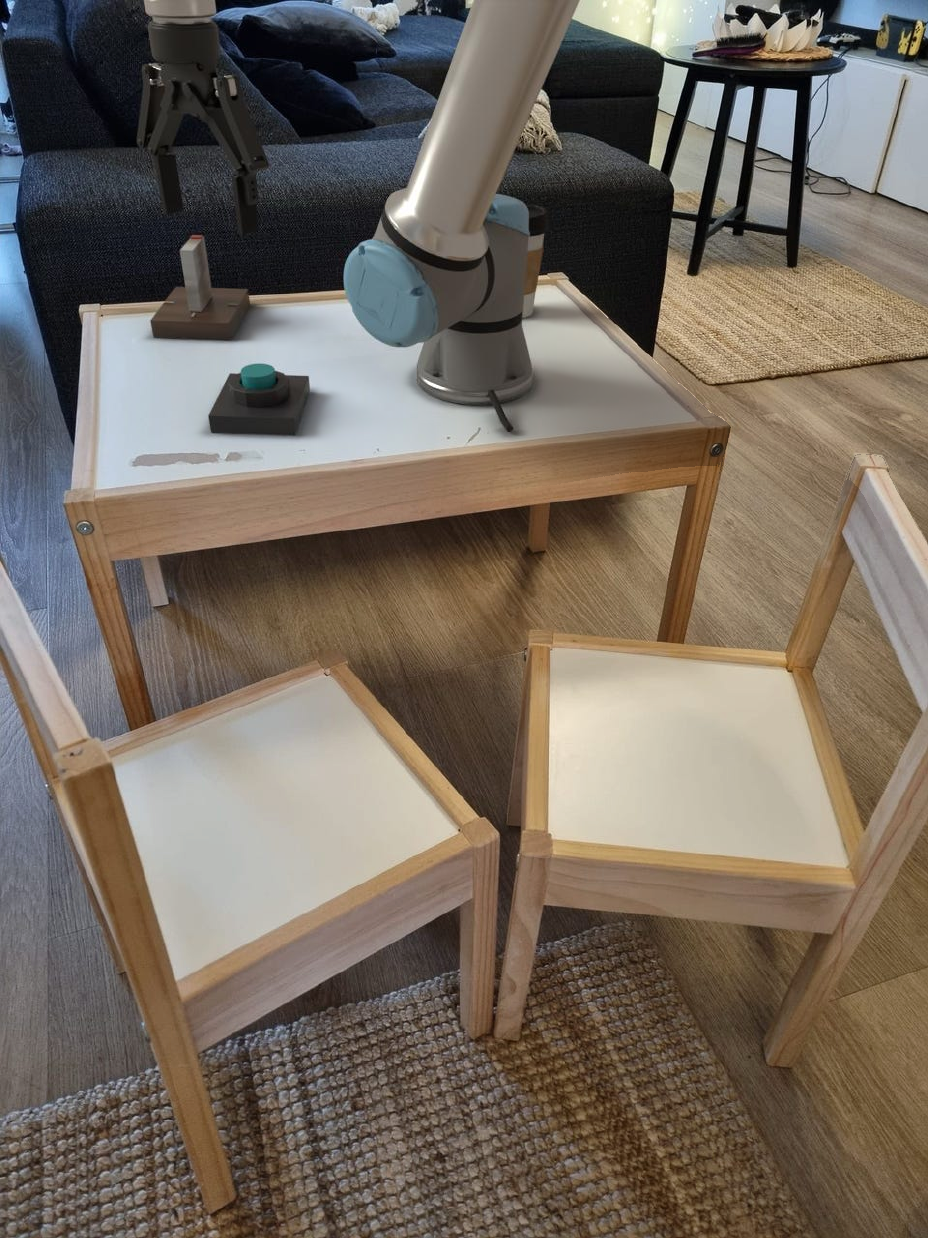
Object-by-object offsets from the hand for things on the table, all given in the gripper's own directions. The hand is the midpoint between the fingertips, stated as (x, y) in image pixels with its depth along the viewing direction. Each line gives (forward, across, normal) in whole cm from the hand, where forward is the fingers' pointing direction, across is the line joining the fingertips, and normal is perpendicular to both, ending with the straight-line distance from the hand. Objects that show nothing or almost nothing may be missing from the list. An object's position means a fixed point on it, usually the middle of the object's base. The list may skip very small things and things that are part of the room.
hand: (210, 222), depth 114 cm
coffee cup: (+18, +20, +40) cm, 48 cm away
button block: (+18, +15, -9) cm, 25 cm away
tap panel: (+18, -13, +7) cm, 23 cm away
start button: (+14, +15, -9) cm, 22 cm away
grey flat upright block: (+15, -13, +7) cm, 21 cm away
